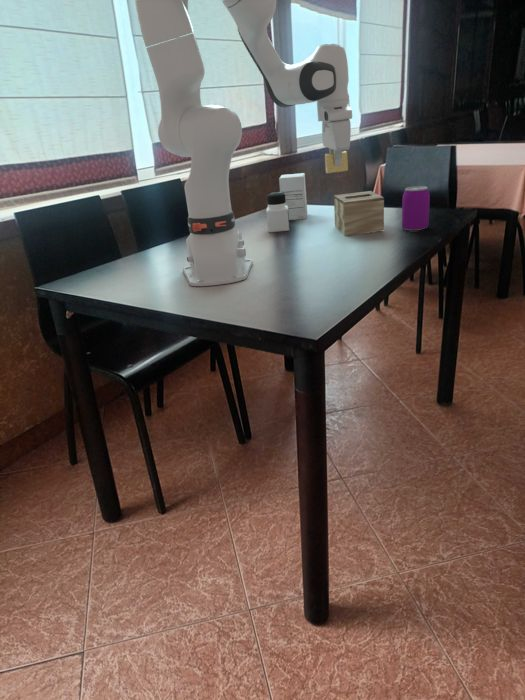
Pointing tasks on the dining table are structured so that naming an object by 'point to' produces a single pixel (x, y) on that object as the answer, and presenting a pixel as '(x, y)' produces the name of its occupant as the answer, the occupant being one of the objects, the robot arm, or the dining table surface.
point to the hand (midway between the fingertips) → (336, 165)
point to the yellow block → (330, 163)
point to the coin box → (359, 213)
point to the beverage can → (415, 208)
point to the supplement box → (294, 195)
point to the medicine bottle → (277, 212)
